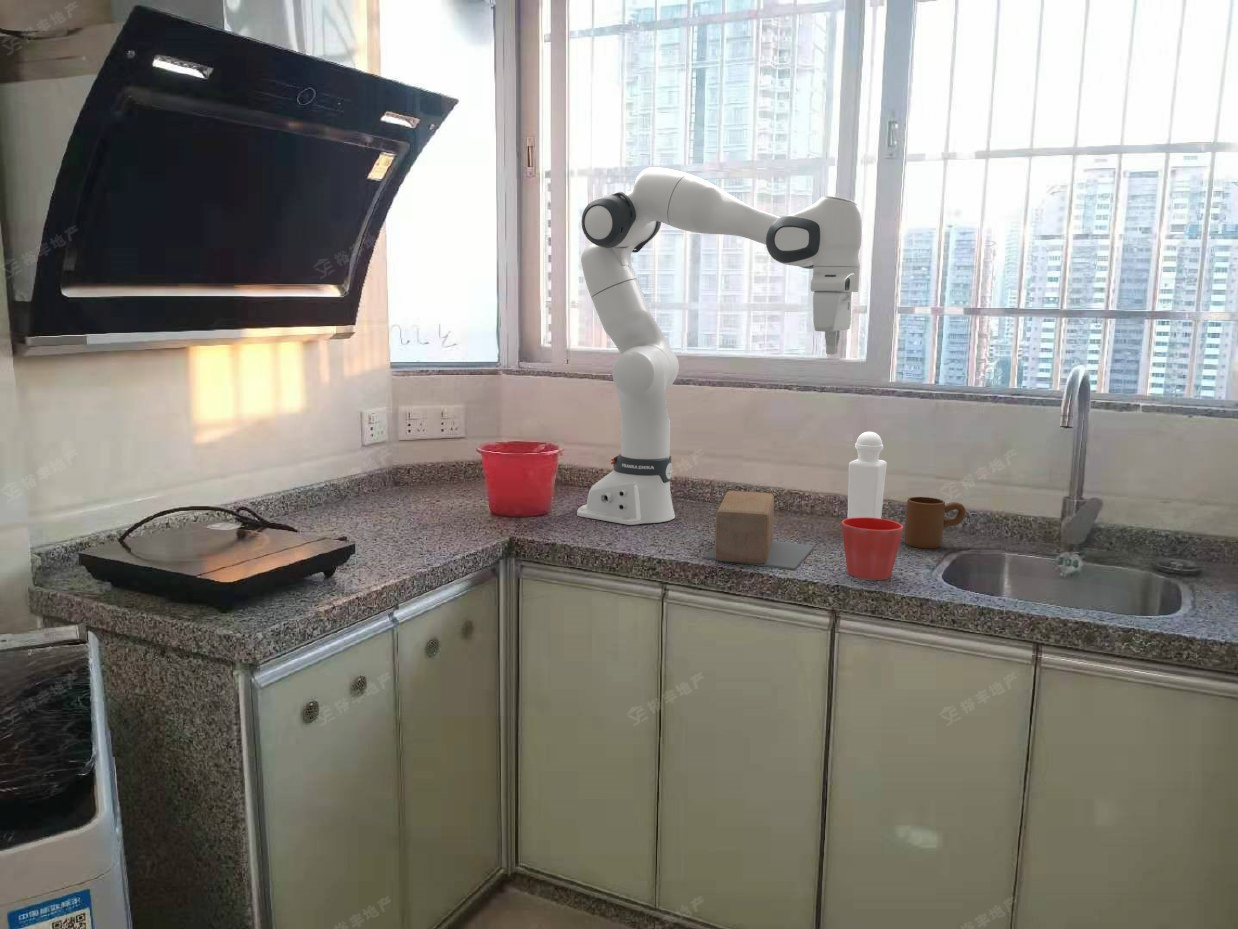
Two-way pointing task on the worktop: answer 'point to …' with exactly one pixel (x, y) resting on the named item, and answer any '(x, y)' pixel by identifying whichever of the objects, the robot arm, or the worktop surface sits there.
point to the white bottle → (866, 478)
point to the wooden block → (744, 527)
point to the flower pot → (871, 546)
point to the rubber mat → (778, 555)
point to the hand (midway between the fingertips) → (831, 354)
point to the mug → (929, 521)
